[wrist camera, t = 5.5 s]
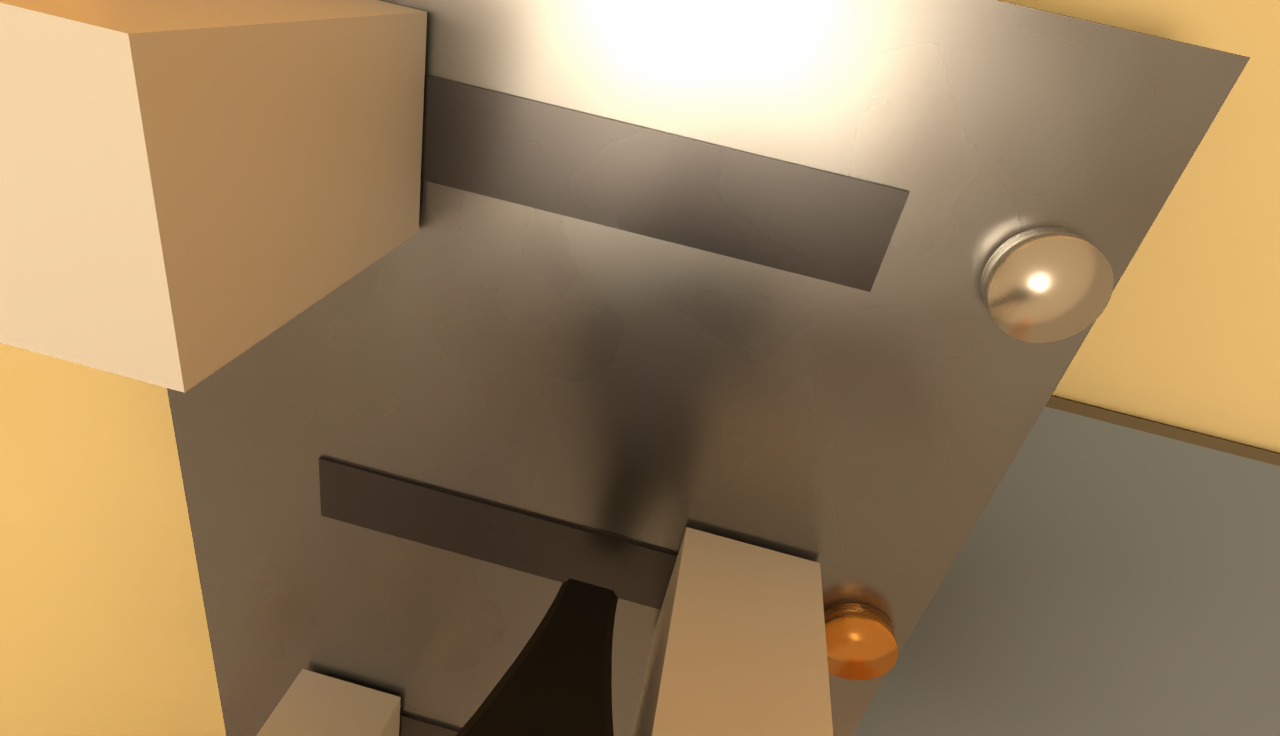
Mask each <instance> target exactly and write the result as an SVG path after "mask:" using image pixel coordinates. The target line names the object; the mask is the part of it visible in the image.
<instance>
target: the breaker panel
mask: <svg viewBox="0 0 1280 736" xmlns="http://www.w3.org/2000/svg"><path fill="white" fill-rule="evenodd" d="M379 1H384V2H388V3H392V4H396V5H401V6H405V7H409V8H413V9H417V10H422V11H426V12H427V28H426V54H425V79H424V105H423V131H422V157H421V183H420V209H419V232H418V233H416V234H415V235H413V236H412V237H410V238H409V239H407V240H406V241H404V242H403V243H402V244H400V245H399V246H397V247H396V248H394V249H393V250H391V251H390V252H388V253H387V254H386V255H384V256H383V257H381V258H380V259H378V260H377V261H375V262H374V263H372V264H371V265H370V266H368V267H367V268H365V269H364V270H362V271H361V272H359V273H358V274H356V275H355V276H354V277H352V278H351V279H349V280H348V281H346V282H345V283H343V284H342V285H340V286H339V287H338V288H336V289H335V290H333V291H332V292H330V293H329V294H327V295H326V296H324V297H323V298H322V299H320V300H319V301H317V302H316V303H314V304H313V305H311V306H310V307H308V308H307V309H306V310H304V311H303V312H301V313H300V314H298V315H297V316H295V317H294V318H292V319H291V320H290V321H288V322H287V323H285V324H284V325H282V326H281V327H279V328H278V329H276V330H275V331H274V332H272V333H271V334H269V335H268V336H266V337H265V338H263V339H262V340H260V341H259V342H258V343H256V344H255V345H253V346H252V347H250V348H249V349H247V350H246V351H244V352H243V353H242V354H240V355H239V356H237V357H236V358H234V359H233V360H231V361H230V362H228V363H227V364H226V365H224V366H223V367H221V368H220V369H218V370H217V371H215V372H214V373H212V374H211V375H210V376H208V377H207V378H205V379H204V380H202V381H201V382H199V383H198V384H196V385H195V386H194V387H192V388H191V389H189V390H188V391H186V392H185V393H184V392H180V391H176V390H173V389H169V388H167V390H168V396H169V402H170V408H171V414H172V420H173V425H174V431H175V437H176V443H177V449H178V455H179V460H180V466H181V472H182V478H183V484H184V490H185V496H186V501H187V507H188V513H189V519H190V525H191V531H192V536H193V542H194V548H195V554H196V560H197V566H198V571H199V577H200V583H201V589H202V595H203V601H204V607H205V612H206V618H207V624H208V630H209V636H210V642H211V647H212V653H213V659H214V665H215V671H216V677H217V682H218V688H219V694H220V700H221V706H222V712H223V718H224V723H225V729H226V735H227V736H256V735H257V734H258V732H259V731H260V730H261V728H262V727H263V725H264V724H265V722H266V721H267V719H268V718H269V717H270V715H271V714H272V712H273V711H274V709H275V708H276V706H277V705H278V704H279V702H280V701H281V699H282V698H283V696H284V695H285V694H286V692H287V691H288V689H289V688H290V686H291V685H292V683H293V682H294V681H295V679H296V678H297V676H298V675H299V673H300V672H301V670H302V669H305V670H308V671H312V672H315V673H319V674H322V675H326V676H329V677H333V678H336V679H340V680H343V681H346V682H350V683H353V684H357V685H360V686H364V687H367V688H371V689H374V690H377V691H381V692H384V693H388V694H391V695H395V696H398V697H401V701H400V726H399V736H456V734H457V733H458V732H459V731H460V730H461V729H462V727H463V726H464V725H465V724H466V723H467V722H468V720H469V719H470V718H471V717H472V716H473V714H474V713H475V712H476V711H477V709H478V708H479V707H480V706H481V704H482V703H483V702H484V700H485V699H486V698H487V696H488V695H489V694H490V692H491V691H492V690H493V688H494V687H495V686H496V685H497V683H498V682H499V681H500V679H501V678H502V677H503V675H504V674H505V673H506V671H507V670H508V669H509V667H510V666H511V665H512V664H513V662H514V661H515V659H516V658H517V657H518V655H519V654H520V652H521V651H522V649H523V648H524V646H525V645H526V644H527V642H528V641H529V639H530V638H531V636H532V635H533V633H534V632H535V630H536V629H537V627H538V626H539V624H540V623H541V621H542V619H543V618H544V616H545V615H546V613H547V611H548V609H549V608H550V606H551V604H552V603H553V601H554V599H555V597H556V595H557V593H558V591H559V589H560V587H561V585H562V583H563V582H565V581H568V580H569V578H571V579H574V580H578V581H582V582H585V583H589V584H592V585H596V586H600V587H603V588H607V589H611V590H614V593H615V594H616V596H617V597H618V602H617V607H616V612H615V620H614V629H613V642H612V716H613V732H614V736H634V730H635V725H636V720H637V715H638V709H639V704H640V699H641V694H642V688H643V683H644V678H645V673H646V667H647V662H648V657H649V651H650V646H651V641H652V637H653V634H654V630H655V627H656V624H657V621H658V617H659V614H660V611H661V608H662V604H663V601H664V598H665V595H666V592H667V588H668V585H669V582H670V579H671V575H672V572H673V569H674V566H675V562H676V559H677V556H678V553H679V550H680V546H681V543H682V540H683V537H684V533H685V530H686V527H688V528H692V529H696V530H699V531H703V532H707V533H711V534H714V535H718V536H722V537H725V538H729V539H733V540H736V541H740V542H744V543H747V544H751V545H755V546H759V547H762V548H766V549H770V550H773V551H777V552H781V553H784V554H788V555H792V556H795V557H799V558H803V559H806V560H810V561H814V562H818V563H820V568H821V581H822V594H823V607H824V620H825V634H826V647H827V660H828V673H829V686H830V699H831V712H832V725H833V736H851V735H852V734H853V732H854V730H855V728H856V727H857V725H858V723H859V722H860V720H861V718H862V717H863V715H864V713H865V711H866V710H867V708H868V706H869V705H870V703H871V701H872V700H873V698H874V696H875V694H876V693H877V691H878V689H879V688H880V686H881V684H882V683H883V681H884V679H885V677H886V676H887V674H888V672H889V671H890V670H891V669H892V668H893V666H894V665H895V663H896V661H897V658H898V655H899V654H900V652H901V650H902V649H903V647H904V645H905V643H906V642H907V640H908V638H909V637H910V635H911V633H912V632H913V630H914V628H915V626H916V625H917V623H918V621H919V620H920V618H921V616H922V615H923V613H924V611H925V609H926V608H927V606H928V604H929V603H930V601H931V599H932V598H933V596H934V594H935V592H936V591H937V589H938V587H939V586H940V584H941V582H942V581H943V579H944V577H945V575H946V574H947V572H948V570H949V569H950V567H951V565H952V564H953V562H954V560H955V558H956V557H957V555H958V553H959V552H960V550H961V548H962V547H963V545H964V543H965V541H966V540H967V538H968V536H969V535H970V533H971V531H972V530H973V528H974V526H975V524H976V523H977V521H978V519H979V518H980V516H981V514H982V513H983V511H984V509H985V507H986V506H987V504H988V502H989V501H990V499H991V497H992V496H993V494H994V492H995V490H996V489H997V487H998V485H999V484H1000V482H1001V480H1002V479H1003V477H1004V475H1005V473H1006V472H1007V470H1008V468H1009V467H1010V465H1011V463H1012V462H1013V460H1014V458H1015V456H1016V455H1017V453H1018V451H1019V450H1020V448H1021V446H1022V445H1023V443H1024V441H1025V439H1026V438H1027V436H1028V434H1029V433H1030V431H1031V429H1032V428H1033V426H1034V424H1035V422H1036V421H1037V419H1038V417H1039V416H1040V414H1041V412H1042V411H1043V409H1044V407H1045V405H1046V404H1047V402H1048V400H1049V399H1050V397H1051V395H1052V394H1053V392H1054V390H1055V388H1056V387H1057V385H1058V383H1059V382H1060V380H1061V378H1062V377H1063V375H1064V373H1065V371H1066V370H1067V368H1068V366H1069V365H1070V363H1071V361H1072V360H1073V358H1074V356H1075V355H1076V353H1077V351H1078V349H1079V348H1080V346H1081V344H1082V343H1083V341H1084V339H1085V338H1086V336H1087V334H1088V332H1089V331H1090V329H1091V327H1092V326H1093V324H1094V322H1095V321H1096V319H1097V318H1098V317H1099V316H1100V314H1101V313H1102V312H1103V310H1104V309H1105V307H1106V306H1107V304H1108V302H1109V300H1110V297H1111V294H1112V292H1113V290H1114V288H1115V287H1116V285H1117V283H1118V281H1119V280H1120V278H1121V276H1122V275H1123V273H1124V271H1125V270H1126V268H1127V266H1128V264H1129V263H1130V261H1131V259H1132V258H1133V256H1134V254H1135V253H1136V251H1137V249H1138V247H1139V246H1140V244H1141V242H1142V241H1143V239H1144V237H1145V236H1146V234H1147V232H1148V230H1149V229H1150V227H1151V225H1152V224H1153V222H1154V220H1155V219H1156V217H1157V215H1158V213H1159V212H1160V210H1161V208H1162V207H1163V205H1164V203H1165V202H1166V200H1167V198H1168V196H1169V195H1170V193H1171V191H1172V190H1173V188H1174V186H1175V185H1176V183H1177V181H1178V179H1179V178H1180V176H1181V174H1182V173H1183V171H1184V169H1185V168H1186V166H1187V164H1188V162H1189V161H1190V159H1191V157H1192V156H1193V154H1194V152H1195V151H1196V149H1197V147H1198V145H1199V144H1200V142H1201V140H1202V139H1203V137H1204V135H1205V134H1206V132H1207V130H1208V128H1209V127H1210V125H1211V123H1212V122H1213V120H1214V118H1215V117H1216V115H1217V113H1218V111H1219V110H1220V108H1221V106H1222V105H1223V103H1224V101H1225V100H1226V98H1227V96H1228V94H1229V93H1230V91H1231V89H1232V88H1233V86H1234V84H1235V83H1236V81H1237V79H1238V77H1239V76H1240V74H1241V72H1242V71H1243V69H1244V67H1245V66H1246V64H1247V62H1248V60H1249V59H1250V57H1246V56H1241V55H1237V54H1232V53H1228V52H1223V51H1219V50H1215V49H1210V48H1206V47H1201V46H1197V45H1193V44H1188V43H1184V42H1179V41H1175V40H1170V39H1166V38H1162V37H1157V36H1153V35H1148V34H1144V33H1140V32H1135V31H1131V30H1126V29H1122V28H1117V27H1113V26H1109V25H1104V24H1100V23H1095V22H1091V21H1087V20H1082V19H1078V18H1073V17H1069V16H1064V15H1060V14H1056V13H1051V12H1047V11H1042V10H1038V9H1034V8H1029V7H1025V6H1020V5H1016V4H1012V3H1007V2H1003V1H998V0H379Z"/></svg>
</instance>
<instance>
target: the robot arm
mask: <svg viewBox="0 0 1280 736" xmlns="http://www.w3.org/2000/svg"><path fill="white" fill-rule="evenodd" d="M617 602H618V597H617V596H616V594H615V593H614V590H611V589H607V588H603V587H600V586H596V585H592V584H589V583H585V582H582V581H578V580H574V579H571V578H569V580H568V581H565V582H563V583H562V585H561V587H560V589H559V591H558V593H557V595H556V597H555V599H554V601H553V603H552V604H551V606H550V608H549V609H548V611H547V613H546V615H545V616H544V618H543V619H542V621H541V623H540V624H539V626H538V627H537V629H536V630H535V632H534V633H533V635H532V636H531V638H530V639H529V641H528V642H527V644H526V645H525V646H524V648H523V649H522V651H521V652H520V654H519V655H518V657H517V658H516V659H515V661H514V662H513V664H512V665H511V666H510V667H509V669H508V670H507V671H506V673H505V674H504V675H503V677H502V678H501V679H500V681H499V682H498V683H497V685H496V686H495V687H494V688H493V690H492V691H491V692H490V694H489V695H488V696H487V698H486V699H485V700H484V702H483V703H482V704H481V706H480V707H479V708H478V709H477V711H476V712H475V713H474V714H473V716H472V717H471V718H470V719H469V720H468V722H467V723H466V724H465V725H464V726H463V727H462V729H461V730H460V731H459V732H458V733H457V734H456V736H614V732H613V716H612V642H613V629H614V620H615V612H616V607H617Z"/></svg>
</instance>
